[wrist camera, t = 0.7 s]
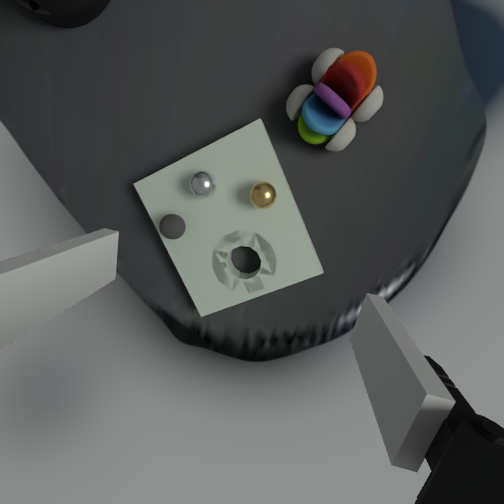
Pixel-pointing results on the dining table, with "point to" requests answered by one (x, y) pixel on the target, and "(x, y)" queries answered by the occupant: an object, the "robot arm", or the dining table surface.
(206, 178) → the steel ball
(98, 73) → the dining table surface
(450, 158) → the dining table surface
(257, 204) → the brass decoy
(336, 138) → the rainbow disc rolling toy
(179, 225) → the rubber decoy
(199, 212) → the pale green flat slab
